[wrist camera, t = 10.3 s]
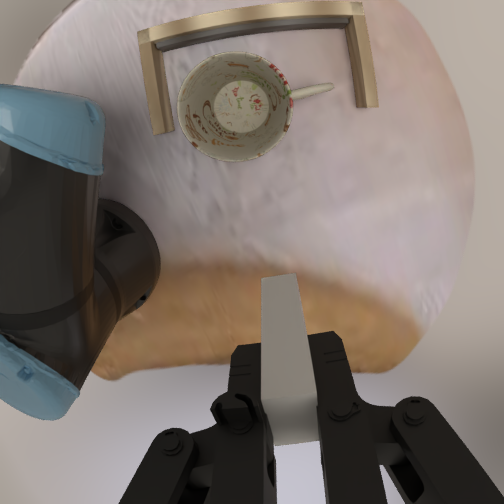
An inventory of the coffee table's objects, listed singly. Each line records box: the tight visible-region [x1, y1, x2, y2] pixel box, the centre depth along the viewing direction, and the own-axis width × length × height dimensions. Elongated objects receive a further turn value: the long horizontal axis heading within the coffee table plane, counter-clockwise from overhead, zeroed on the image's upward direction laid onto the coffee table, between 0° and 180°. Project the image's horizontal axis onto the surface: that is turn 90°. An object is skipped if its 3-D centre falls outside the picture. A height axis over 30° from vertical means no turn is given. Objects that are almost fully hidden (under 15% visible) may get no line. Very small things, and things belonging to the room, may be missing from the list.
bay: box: [137, 1, 379, 135], centre depth 26 cm, size 21×11×4 cm, turn 98°
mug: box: [177, 51, 334, 162], centre depth 25 cm, size 8×13×10 cm, turn 108°
